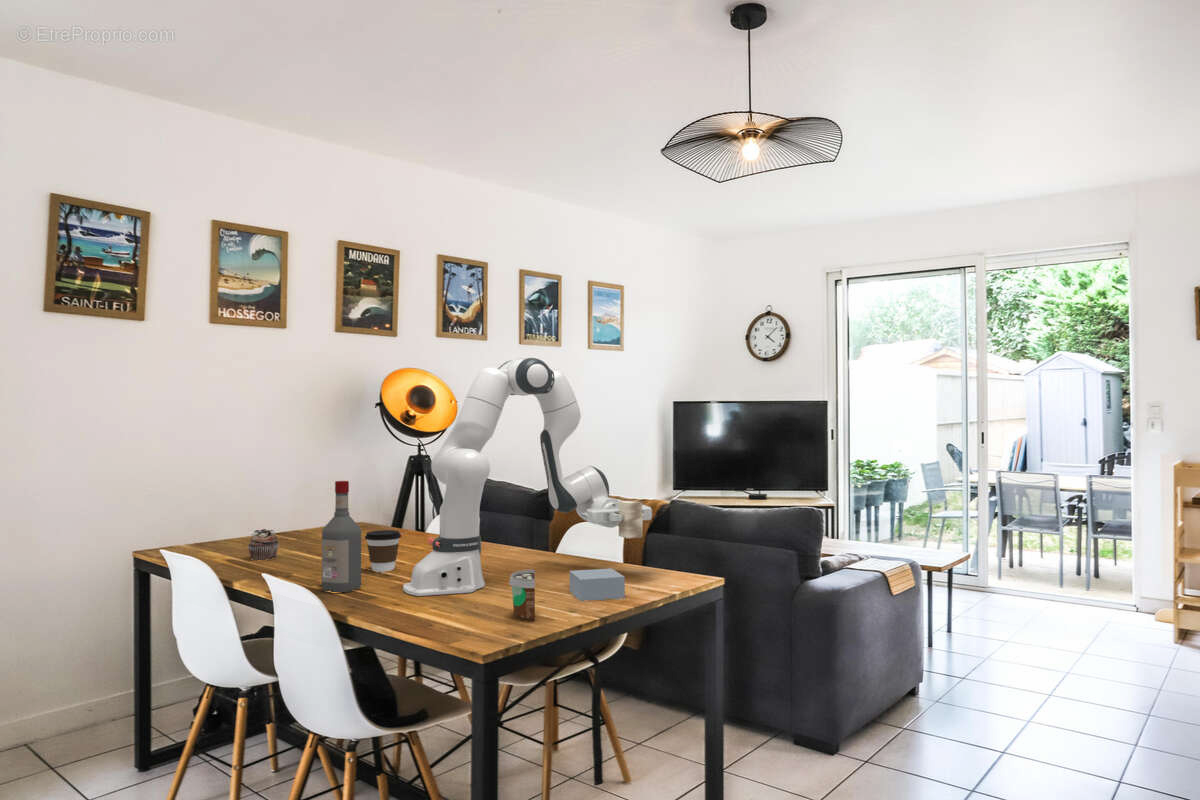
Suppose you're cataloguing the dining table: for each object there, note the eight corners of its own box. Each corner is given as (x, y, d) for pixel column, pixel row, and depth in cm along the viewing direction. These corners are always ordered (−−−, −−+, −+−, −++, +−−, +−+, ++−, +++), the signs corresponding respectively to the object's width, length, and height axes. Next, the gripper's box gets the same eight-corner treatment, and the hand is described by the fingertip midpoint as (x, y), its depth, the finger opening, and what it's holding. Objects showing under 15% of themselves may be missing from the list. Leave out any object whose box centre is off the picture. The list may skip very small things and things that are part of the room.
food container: (509, 610, 192) (509, 569, 193) (534, 609, 193) (534, 569, 193) (508, 623, 180) (508, 579, 180) (534, 622, 181) (534, 579, 181)
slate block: (580, 602, 201) (580, 579, 201) (569, 593, 213) (569, 570, 213) (624, 599, 204) (624, 576, 204) (611, 590, 216) (611, 568, 216)
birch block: (627, 538, 221) (627, 503, 221) (618, 536, 225) (618, 501, 225) (642, 537, 223) (642, 502, 223) (633, 534, 227) (633, 500, 228)
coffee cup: (385, 566, 250) (385, 528, 250) (408, 570, 243) (408, 531, 244) (357, 571, 241) (357, 533, 241) (380, 576, 234) (380, 536, 235)
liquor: (343, 594, 210) (344, 483, 211) (316, 591, 214) (317, 482, 214) (365, 587, 219) (366, 480, 219) (339, 585, 222) (339, 479, 223)
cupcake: (284, 556, 268) (284, 527, 268) (267, 562, 258) (267, 531, 258) (259, 556, 269) (259, 527, 270) (241, 561, 260) (241, 531, 260)
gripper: (578, 503, 231) (600, 508, 219) (637, 500, 240) (661, 504, 228) (578, 525, 231) (600, 531, 218) (637, 520, 240) (661, 526, 228)
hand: (632, 517), depth 223 cm, fingers closed on birch block, 5 cm apart
